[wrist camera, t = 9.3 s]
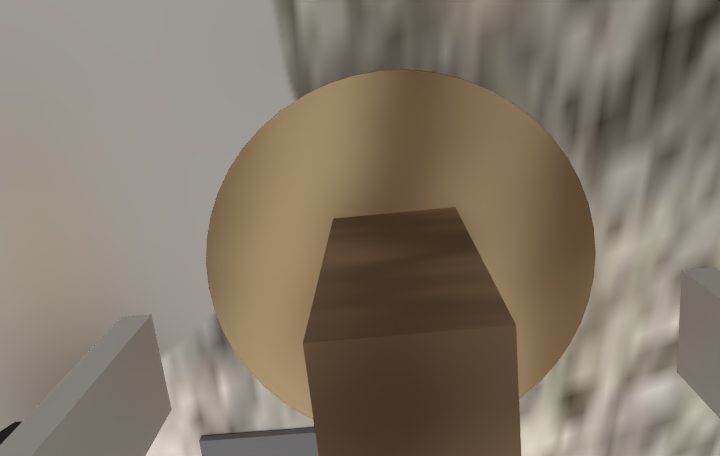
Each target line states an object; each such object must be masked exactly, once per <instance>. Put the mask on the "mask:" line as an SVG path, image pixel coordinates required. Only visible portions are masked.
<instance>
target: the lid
mask: <svg viewBox="0 0 720 456" xmlns="http://www.w3.org/2000/svg"><path fill="white" fill-rule="evenodd" d="M206 259H207V260H206V265H207V275H208V283H209V290H210V293H211V297H212V301H213V305H214V309H215V312H216V315H217V317H218V320H219V322H220V324H221V327H222V329H223V332H224V334H225V335H226V337H227V339H228V341H229V343H230V344H231V346H232V348H233V350H234V351H235V353H236V354H237V356H238V357H239V358H240V360H241V361H242V362H243V364H244V365H245V366H246V368H247V369H248V370H249V371H250V372H251V373H252V374H253V375H254V376H255V378H256V379H257V380H258V381H259V382H260V383H261V384H262V385H263V386H264V387H265V388H267V389H268V390H269V391H270V392H271V393H273V394H274V395H275V396H276V397H278V398H279V399H280V400H281V401H283V402H284V403H286V404H287V405H289V406H291V407H292V408H294V409H295V410H297V411H299V412H300V413H302V414H304V415H306V416H308V417H310V418H312V419H313V420H314V427H315V434H316V441H317V448H318V455H319V456H521V440H520V413H519V399H520V398H521V397H523V396H524V395H525V394H526V393H527V392H528V391H529V390H531V389H532V388H533V387H534V386H535V385H536V384H538V383H539V382H540V381H541V380H542V379H543V378H544V376H545V375H546V374H547V373H548V372H549V371H550V370H551V369H552V368H553V366H554V365H555V364H556V363H557V362H558V360H559V359H560V357H561V356H562V354H563V353H564V351H565V350H566V349H567V347H568V346H569V344H570V342H571V340H572V338H573V337H574V335H575V333H576V331H577V329H578V327H579V325H580V323H581V320H582V318H583V315H584V312H585V309H586V306H587V304H588V301H589V296H590V292H591V287H592V282H593V277H594V265H595V240H594V227H593V223H592V218H591V214H590V209H589V204H588V201H587V199H586V196H585V193H584V191H583V188H582V185H581V183H580V180H579V178H578V176H577V174H576V173H575V171H574V169H573V167H572V165H571V163H570V162H569V160H568V158H567V157H566V155H565V154H564V153H563V151H562V150H561V149H560V147H559V146H558V145H557V143H556V142H555V141H554V139H553V138H552V137H551V136H550V135H549V134H548V133H547V132H546V131H545V130H544V129H543V128H542V127H541V126H540V125H539V124H538V123H537V122H536V121H535V120H534V119H533V118H532V117H531V116H529V115H528V114H527V113H525V112H524V111H523V110H521V109H520V108H519V107H517V106H516V105H515V104H513V103H512V102H510V101H508V100H507V99H505V98H503V97H501V96H500V95H498V94H496V93H494V92H492V91H491V90H489V89H486V88H484V87H481V86H478V85H476V84H473V83H471V82H468V81H465V80H463V79H460V78H456V77H452V76H448V75H443V74H439V73H435V72H427V71H417V70H383V71H375V72H370V73H364V74H358V75H353V76H350V77H347V78H344V79H341V80H338V81H335V82H331V83H329V84H327V85H325V86H322V87H320V88H318V89H316V90H314V91H312V92H310V93H308V94H306V95H304V96H303V97H301V98H300V99H298V100H296V101H295V102H293V103H292V104H291V105H289V106H287V107H286V108H284V109H283V110H281V111H280V112H279V113H277V114H276V115H275V116H274V117H273V118H272V119H271V120H270V121H268V122H267V123H266V124H265V125H264V126H263V127H262V128H260V129H259V131H258V132H257V133H256V134H255V135H254V136H253V137H252V138H251V140H250V141H249V142H248V143H247V144H246V145H245V147H244V148H243V149H242V150H241V152H240V154H239V155H238V157H237V158H236V160H235V161H234V163H233V164H232V166H231V167H230V169H229V171H228V173H227V175H226V177H225V179H224V181H223V183H222V185H221V187H220V190H219V192H218V195H217V198H216V201H215V204H214V207H213V211H212V214H211V218H210V224H209V230H208V236H207V257H206Z"/></svg>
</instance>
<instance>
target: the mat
mask: <svg viewBox="0 0 720 456" xmlns="http://www.w3.org/2000/svg"><path fill="white" fill-rule="evenodd" d="M199 442H200V447H201V452H202V456H319V455H318V448H317V441H316V434H315V427H313V428H300V429H287V430H274V431H260V432H247V433H234V434H221V435H208V436H202V437H201V439H200V441H199Z"/></svg>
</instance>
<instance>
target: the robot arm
mask: <svg viewBox="0 0 720 456" xmlns="http://www.w3.org/2000/svg"><path fill="white" fill-rule="evenodd" d="M677 372H678V373H679V375H680V376H681V377H682V378H683V379H684V380H685V381H686V382H687V383H688V384H689V385H690V386H691V388H692V389H693V390H694V391H695V392H696V393H697V394H698V395H699V396H700V397H701V398H702V400H703V401H704V402H705V403H706V404H707V405H708V406H709V407H710V408H711V409H712V410H713V411H714V413H715V414H716V415H717V416H718V417H719V418H720V271H719V270H718V269H716V268H702V269H690V270H682V277H681V299H680V320H679V342H678V363H677ZM170 411H171V405H170V400H169V396H168V391H167V386H166V382H165V377H164V372H163V367H162V363H161V358H160V353H159V348H158V344H157V340H156V335H155V330H154V325H153V321H152V315H151V314H149V315H137V316H125V317H121V318H120V319H119V320H118V321H117V322H116V323H115V325H114V326H113V327H112V328H111V329H110V330H109V331H108V332H107V333H106V334H105V335H104V336H103V337H102V338H101V339H100V340H99V342H97V344H96V345H95V346H94V347H93V348H92V349H91V350H90V351H89V352H88V353H87V354H86V355H85V356H84V357H83V358H82V359H81V360H80V361H79V362H78V364H77V365H76V366H75V367H74V368H73V369H72V370H71V371H70V372H69V373H68V374H67V375H66V376H65V377H64V379H62V380H61V382H59V384H58V385H57V386H56V387H55V388H54V389H53V390H52V391H51V392H50V393H49V394H48V395H47V396H46V397H45V398H44V399H43V400H42V401H41V403H40V404H39V405H38V406H37V407H36V408H35V409H34V410H33V411H32V412H31V413H30V414H29V415H28V416H27V417H26V418H25V419H24V421H22V422H15V423H13V424H11V425H10V426H8V427H7V428H5V429H4V430H2V431H1V432H0V456H145V455H146V453H147V452H148V450H149V448H150V446H151V445H152V443H153V441H154V439H155V438H156V436H157V434H158V432H159V431H160V429H161V427H162V425H163V424H164V422H165V420H166V418H167V417H168V415H169V413H170Z"/></svg>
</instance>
